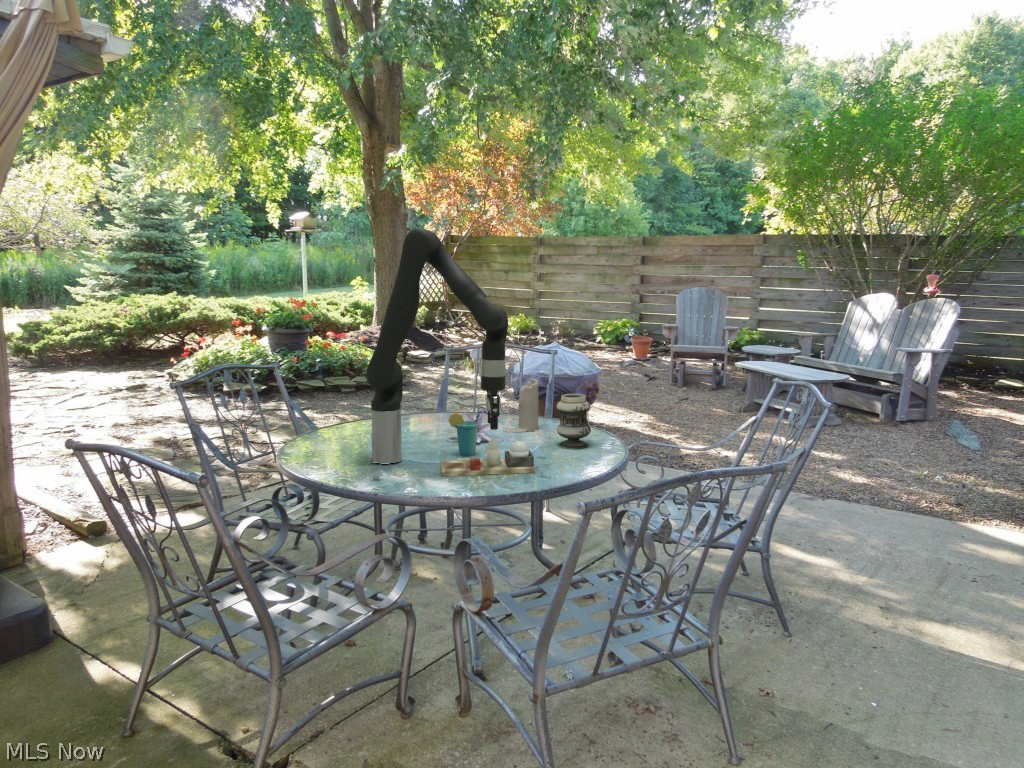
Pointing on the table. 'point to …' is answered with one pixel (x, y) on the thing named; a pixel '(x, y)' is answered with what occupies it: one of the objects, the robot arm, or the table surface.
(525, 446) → the pale round cylinder
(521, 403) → the candle
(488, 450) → the pawn
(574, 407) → the apothecary jar
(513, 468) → the board
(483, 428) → the water lily
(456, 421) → the cup
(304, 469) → the table surface
